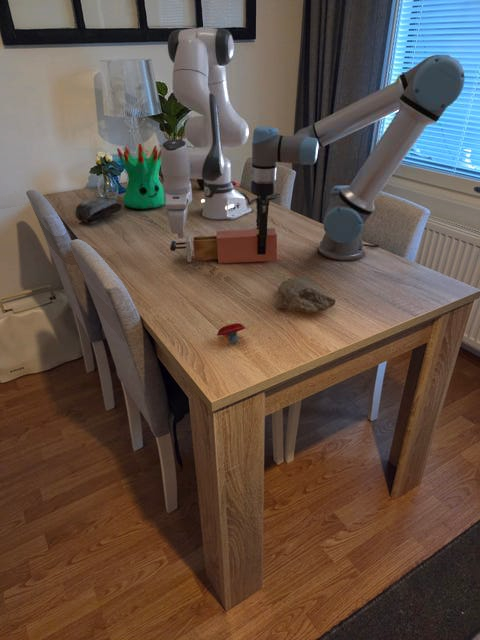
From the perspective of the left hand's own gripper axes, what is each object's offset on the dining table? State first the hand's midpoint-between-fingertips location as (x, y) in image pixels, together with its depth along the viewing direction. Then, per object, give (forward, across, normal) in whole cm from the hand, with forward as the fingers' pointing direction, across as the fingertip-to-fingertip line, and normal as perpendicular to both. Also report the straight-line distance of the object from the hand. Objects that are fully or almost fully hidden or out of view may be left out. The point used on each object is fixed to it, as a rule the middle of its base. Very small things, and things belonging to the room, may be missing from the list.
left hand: (181, 236), depth 148 cm
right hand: (+5, +1, +26) cm, 27 cm away
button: (+7, +50, +16) cm, 53 cm away
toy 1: (+9, -62, -22) cm, 66 cm away
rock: (+9, -41, -38) cm, 56 cm away
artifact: (+8, +32, +36) cm, 48 cm away
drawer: (+8, +1, +8) cm, 11 cm away
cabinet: (+8, +1, +22) cm, 23 cm away
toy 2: (+10, -86, +8) cm, 87 cm away
